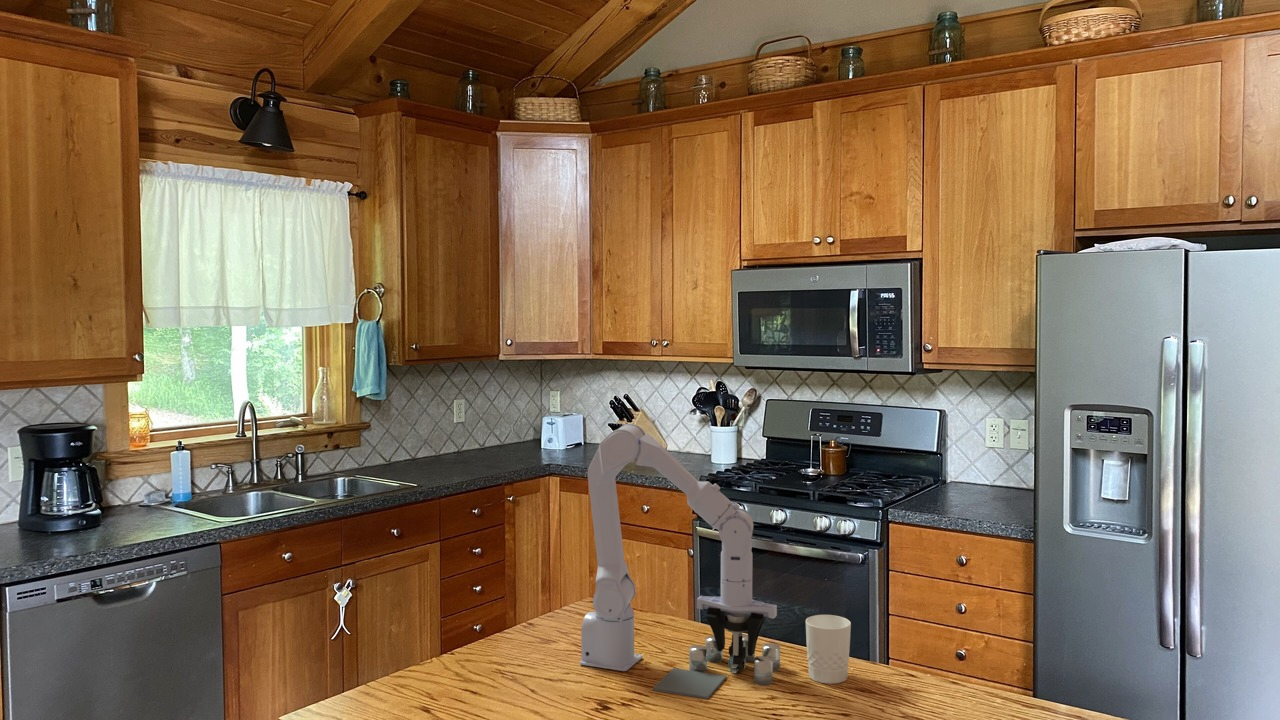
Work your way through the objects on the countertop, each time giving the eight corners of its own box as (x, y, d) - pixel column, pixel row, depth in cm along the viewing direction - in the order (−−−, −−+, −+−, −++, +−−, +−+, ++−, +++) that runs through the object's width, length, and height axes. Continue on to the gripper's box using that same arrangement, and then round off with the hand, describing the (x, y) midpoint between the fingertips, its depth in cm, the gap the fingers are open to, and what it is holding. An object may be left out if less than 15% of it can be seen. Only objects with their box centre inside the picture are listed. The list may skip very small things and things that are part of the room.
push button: (748, 677, 169) (748, 622, 168) (718, 674, 170) (719, 619, 170) (753, 664, 175) (754, 610, 175) (725, 661, 177) (725, 608, 176)
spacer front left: (686, 671, 172) (686, 649, 172) (692, 665, 175) (692, 644, 175) (703, 674, 171) (703, 652, 171) (709, 667, 174) (709, 646, 174)
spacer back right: (760, 669, 173) (760, 647, 173) (765, 663, 176) (765, 642, 176) (777, 672, 172) (777, 650, 172) (782, 665, 175) (782, 644, 175)
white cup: (796, 677, 169) (797, 622, 169) (820, 665, 175) (821, 611, 174) (835, 689, 164) (835, 632, 163) (858, 676, 170) (859, 621, 169)
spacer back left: (703, 661, 177) (703, 639, 177) (708, 655, 180) (708, 634, 180) (719, 663, 176) (719, 642, 176) (724, 657, 179) (724, 636, 179)
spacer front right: (751, 683, 166) (752, 661, 166) (757, 677, 169) (757, 655, 169) (769, 686, 165) (769, 663, 165) (774, 679, 168) (774, 657, 168)
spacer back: (735, 660, 178) (735, 639, 177) (740, 655, 180) (740, 634, 180) (752, 663, 176) (752, 641, 176) (756, 657, 179) (756, 636, 179)
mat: (652, 690, 164) (652, 687, 164) (673, 670, 173) (673, 667, 173) (707, 699, 160) (707, 696, 160) (726, 678, 169) (726, 675, 169)
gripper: (781, 576, 173) (780, 650, 174) (705, 568, 179) (705, 639, 179) (771, 586, 166) (770, 663, 167) (692, 577, 172) (692, 651, 173)
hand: (736, 651), depth 173 cm, fingers closed on push button, 5 cm apart
